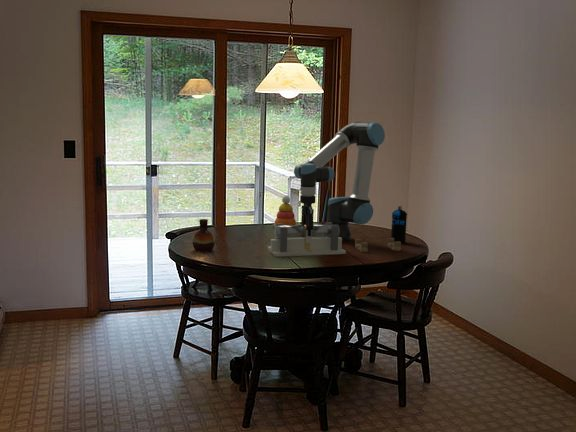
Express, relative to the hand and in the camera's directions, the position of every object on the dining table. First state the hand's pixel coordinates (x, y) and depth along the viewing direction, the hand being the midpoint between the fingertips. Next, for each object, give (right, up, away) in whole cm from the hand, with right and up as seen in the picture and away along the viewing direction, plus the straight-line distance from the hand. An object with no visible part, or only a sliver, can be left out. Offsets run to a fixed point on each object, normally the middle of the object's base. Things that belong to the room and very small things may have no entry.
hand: (306, 241), depth 308 cm
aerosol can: (+51, -2, +29) cm, 58 cm away
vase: (-51, -5, -2) cm, 51 cm away
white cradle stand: (0, -5, +1) cm, 5 cm away
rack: (+37, -5, +10) cm, 38 cm away
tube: (0, +2, 0) cm, 2 cm away
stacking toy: (-11, +5, +64) cm, 65 cm away
